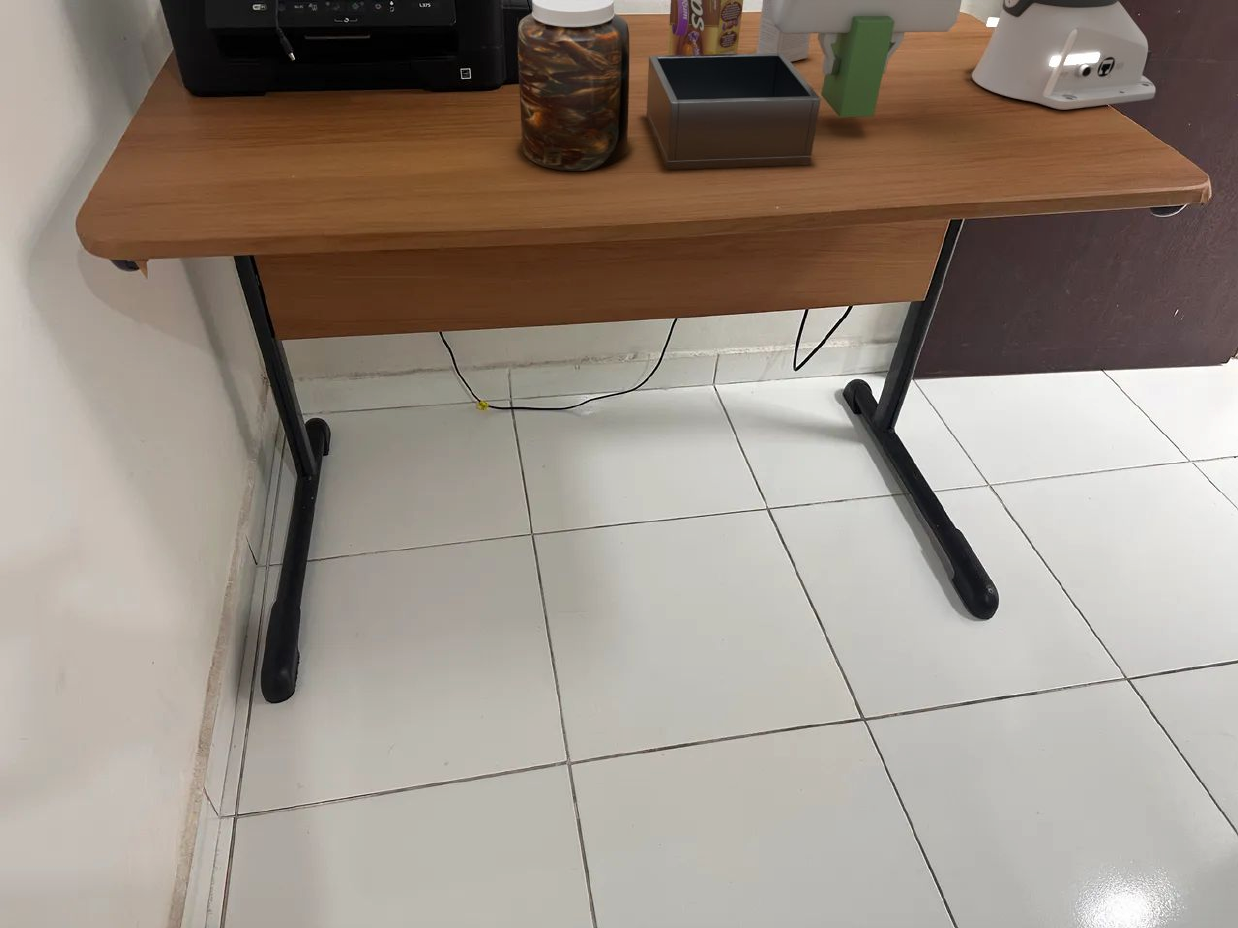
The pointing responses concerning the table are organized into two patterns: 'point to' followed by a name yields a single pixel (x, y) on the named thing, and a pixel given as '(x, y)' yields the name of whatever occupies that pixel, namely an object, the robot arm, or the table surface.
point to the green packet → (859, 66)
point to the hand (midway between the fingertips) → (852, 73)
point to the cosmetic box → (780, 38)
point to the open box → (730, 111)
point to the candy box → (704, 27)
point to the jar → (574, 84)
